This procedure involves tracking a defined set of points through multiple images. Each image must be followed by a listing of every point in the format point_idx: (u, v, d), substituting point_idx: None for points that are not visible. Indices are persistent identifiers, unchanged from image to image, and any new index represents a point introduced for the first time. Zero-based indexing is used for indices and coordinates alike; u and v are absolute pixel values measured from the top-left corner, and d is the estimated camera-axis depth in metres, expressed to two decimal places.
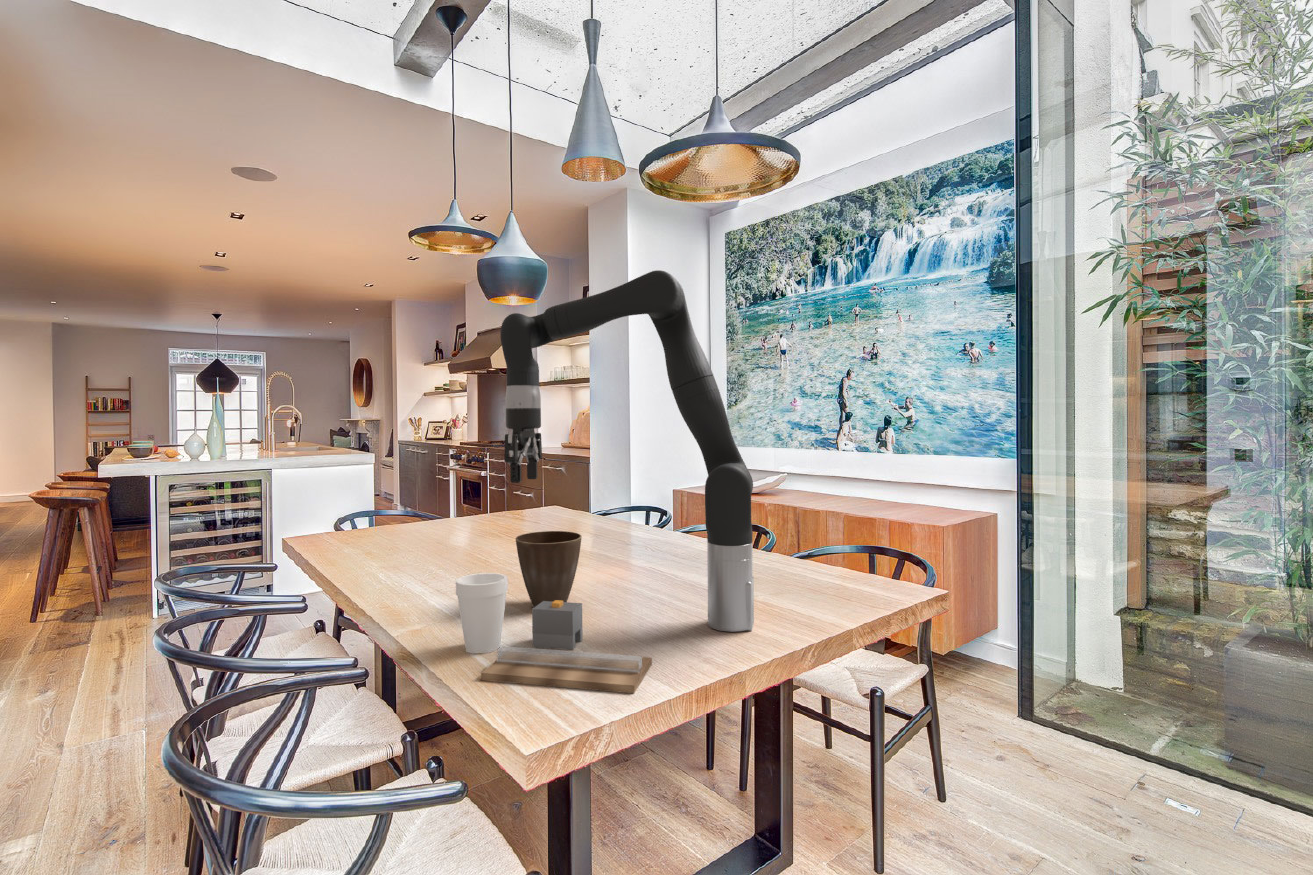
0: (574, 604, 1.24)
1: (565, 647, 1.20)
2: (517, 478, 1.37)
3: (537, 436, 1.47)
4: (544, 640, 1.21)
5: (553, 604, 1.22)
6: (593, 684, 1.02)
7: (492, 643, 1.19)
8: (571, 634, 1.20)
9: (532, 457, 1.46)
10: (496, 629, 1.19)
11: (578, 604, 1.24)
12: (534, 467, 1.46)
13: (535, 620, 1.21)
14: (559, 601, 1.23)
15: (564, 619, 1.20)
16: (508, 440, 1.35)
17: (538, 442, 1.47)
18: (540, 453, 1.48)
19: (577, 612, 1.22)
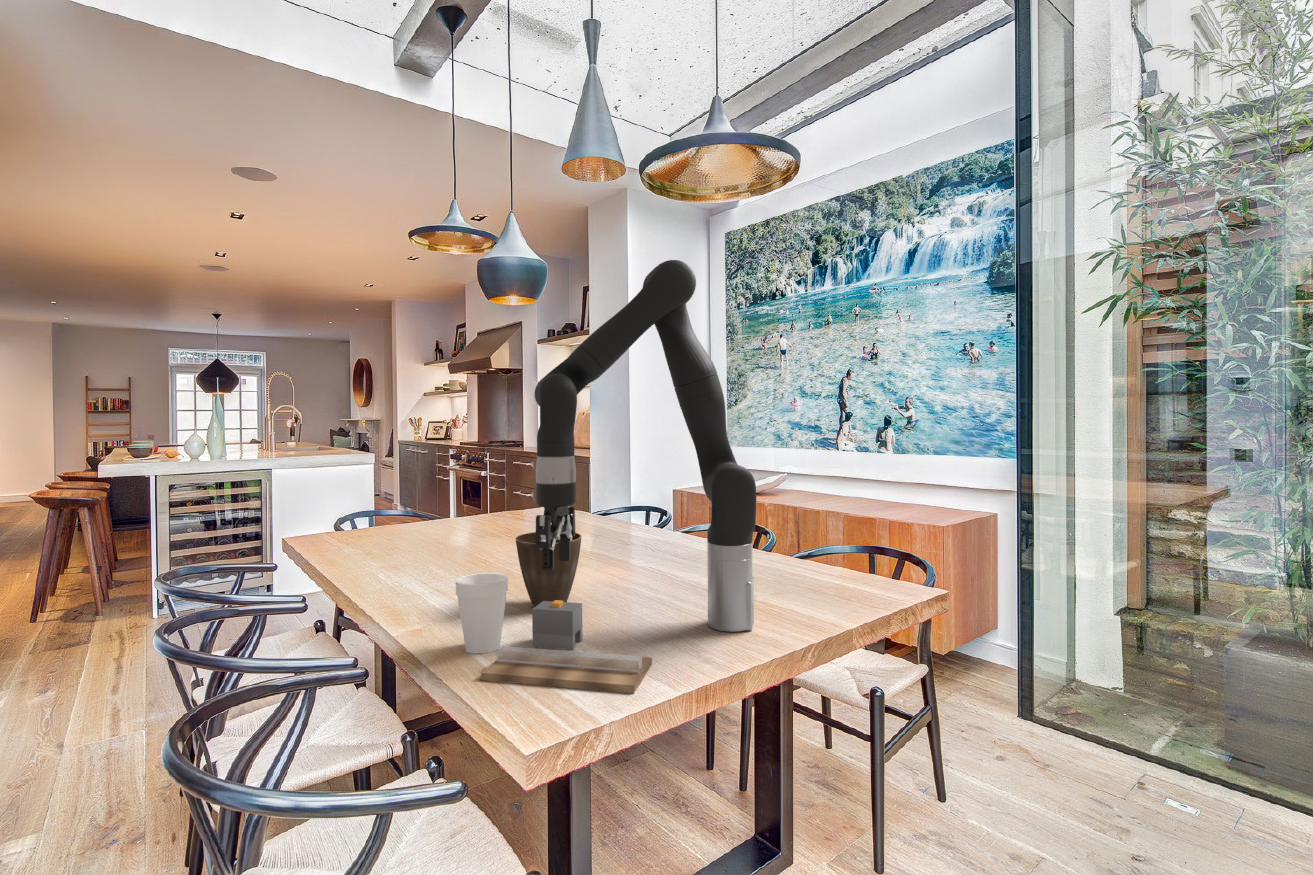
0: (574, 604, 1.24)
1: (565, 647, 1.20)
2: (549, 566, 1.18)
3: (570, 510, 1.28)
4: (544, 640, 1.21)
5: (553, 604, 1.22)
6: (593, 684, 1.02)
7: (492, 643, 1.19)
8: (571, 634, 1.20)
9: (565, 535, 1.27)
10: (496, 629, 1.19)
11: (578, 604, 1.24)
12: (567, 547, 1.27)
13: (535, 620, 1.21)
14: (559, 601, 1.23)
15: (564, 619, 1.20)
16: (540, 522, 1.16)
17: (571, 517, 1.28)
18: (573, 530, 1.29)
19: (577, 612, 1.22)
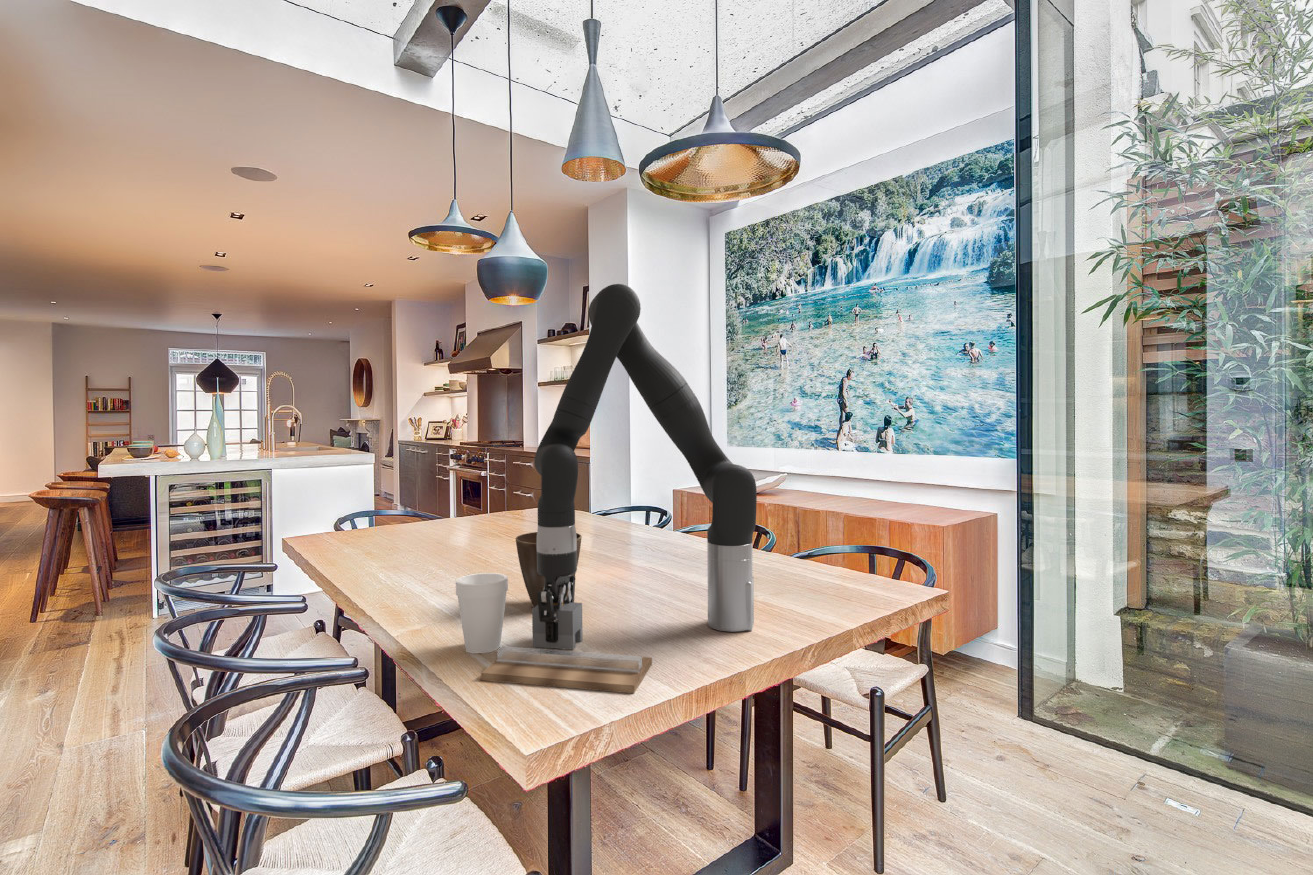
0: (574, 604, 1.24)
1: (565, 647, 1.20)
2: (553, 638, 1.19)
3: (571, 579, 1.28)
4: (544, 640, 1.21)
5: (553, 604, 1.22)
6: (593, 684, 1.02)
7: (492, 643, 1.19)
8: (571, 634, 1.20)
9: None
10: (496, 629, 1.19)
11: (578, 604, 1.24)
12: None
13: (535, 620, 1.21)
14: None
15: (564, 619, 1.20)
16: (542, 599, 1.17)
17: (571, 586, 1.28)
18: (572, 600, 1.28)
19: (577, 612, 1.22)
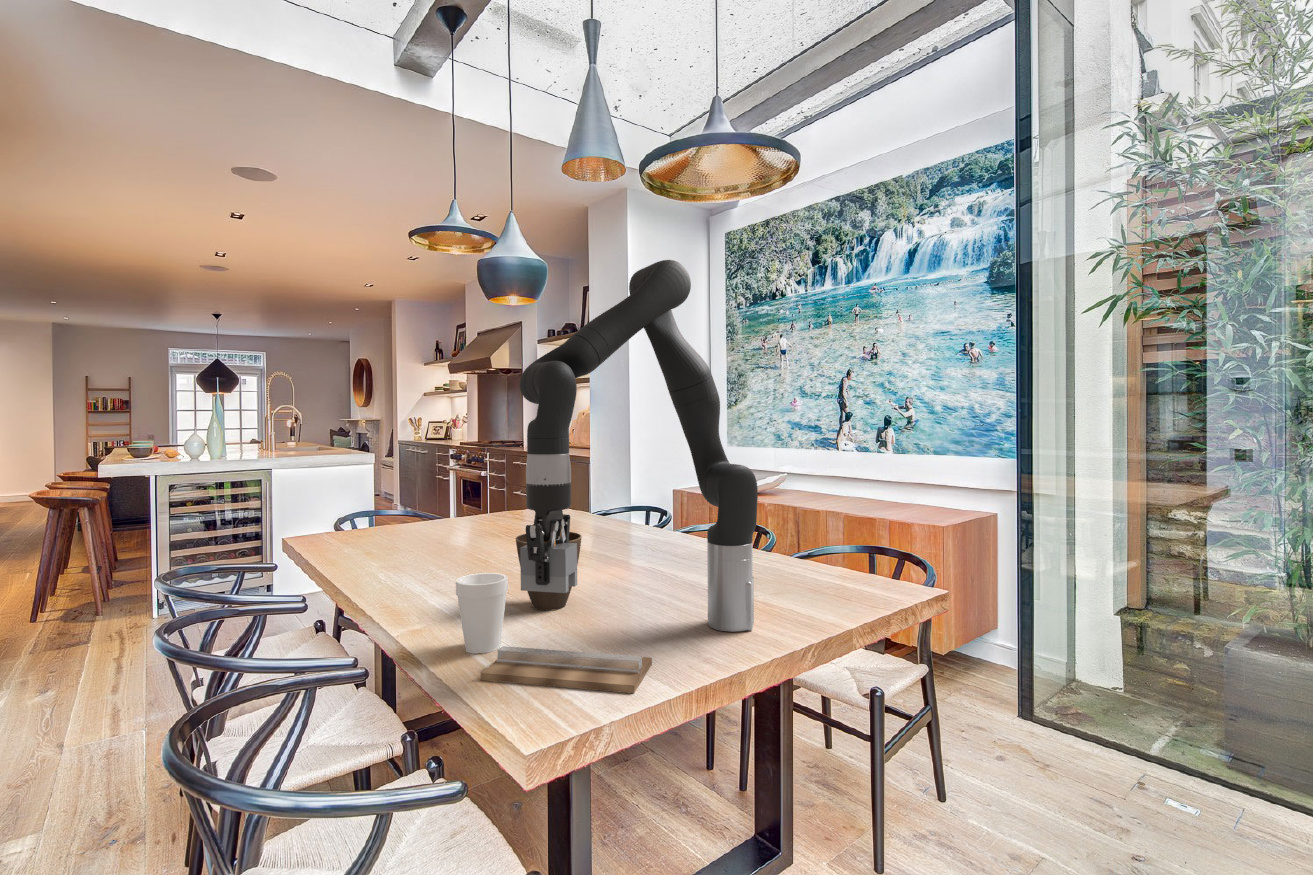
0: (568, 544, 1.10)
1: (557, 590, 1.06)
2: (544, 579, 1.06)
3: (565, 518, 1.15)
4: (534, 583, 1.07)
5: None
6: (593, 684, 1.02)
7: (492, 643, 1.19)
8: (564, 575, 1.06)
9: None
10: (496, 629, 1.19)
11: (572, 544, 1.10)
12: None
13: (523, 560, 1.08)
14: None
15: (556, 559, 1.06)
16: (531, 534, 1.03)
17: (566, 526, 1.14)
18: (566, 541, 1.14)
19: (571, 552, 1.09)
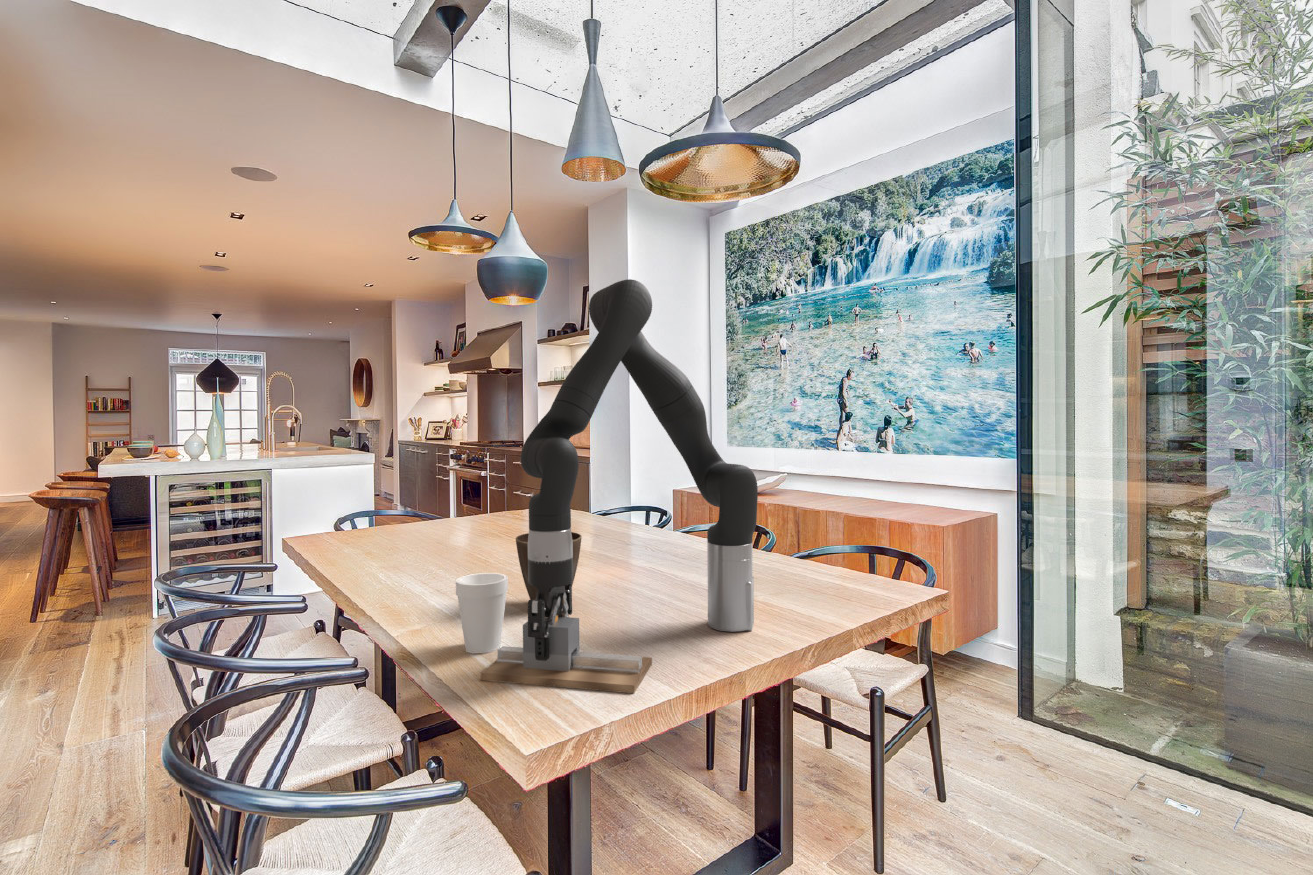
0: (570, 619, 1.10)
1: (560, 668, 1.07)
2: (544, 655, 1.05)
3: (567, 586, 1.15)
4: (536, 660, 1.07)
5: None
6: (593, 684, 1.02)
7: (492, 643, 1.19)
8: (566, 654, 1.06)
9: (560, 615, 1.14)
10: (496, 629, 1.19)
11: (575, 619, 1.10)
12: None
13: (526, 638, 1.08)
14: None
15: (558, 637, 1.06)
16: (532, 609, 1.03)
17: (568, 594, 1.15)
18: (570, 608, 1.15)
19: (574, 629, 1.09)
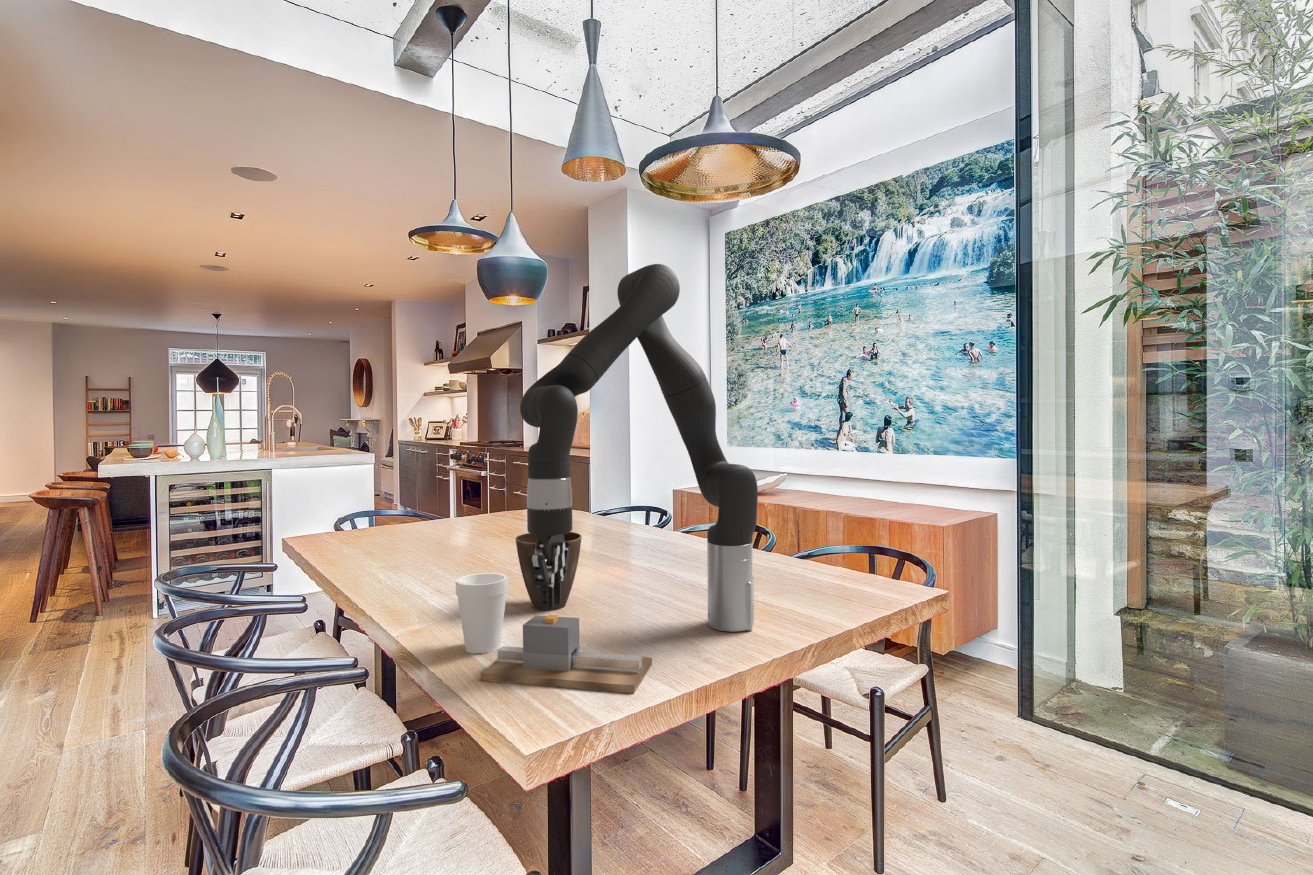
0: (570, 619, 1.10)
1: (560, 668, 1.07)
2: (549, 604, 1.07)
3: (566, 544, 1.14)
4: (536, 660, 1.07)
5: (546, 619, 1.09)
6: (593, 684, 1.02)
7: (492, 643, 1.19)
8: (566, 654, 1.06)
9: (555, 574, 1.11)
10: (496, 629, 1.19)
11: (575, 619, 1.10)
12: (557, 588, 1.11)
13: (526, 638, 1.08)
14: (553, 616, 1.10)
15: (558, 637, 1.06)
16: (533, 564, 1.03)
17: (565, 552, 1.14)
18: (565, 568, 1.13)
19: (574, 629, 1.09)
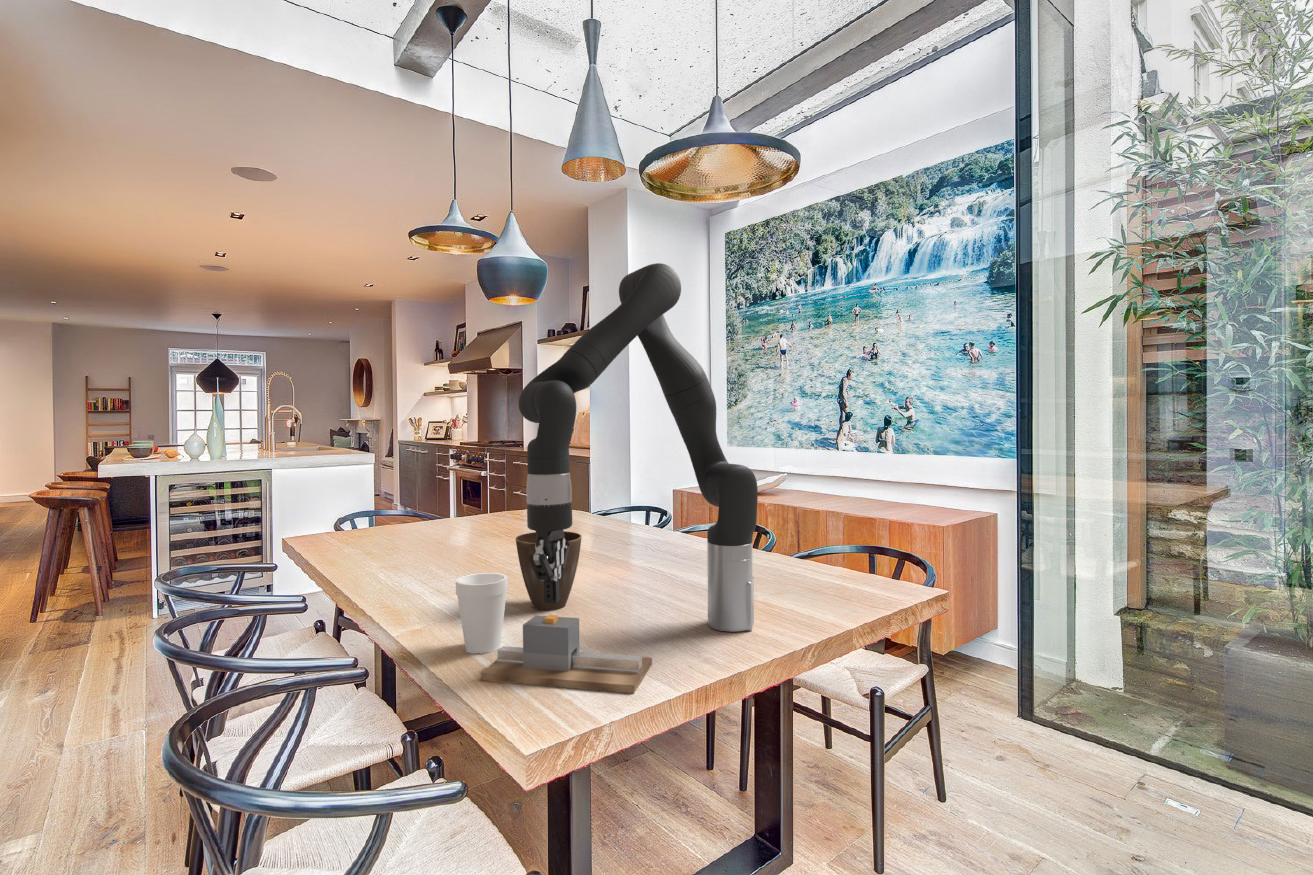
0: (570, 619, 1.10)
1: (560, 668, 1.07)
2: (553, 598, 1.08)
3: (565, 543, 1.14)
4: (536, 660, 1.07)
5: (546, 619, 1.09)
6: (593, 684, 1.02)
7: (492, 643, 1.19)
8: (566, 654, 1.06)
9: None
10: (496, 629, 1.19)
11: (575, 619, 1.10)
12: None
13: (526, 638, 1.08)
14: (553, 616, 1.10)
15: (558, 637, 1.06)
16: (535, 563, 1.04)
17: (564, 550, 1.13)
18: (562, 565, 1.11)
19: (574, 629, 1.09)
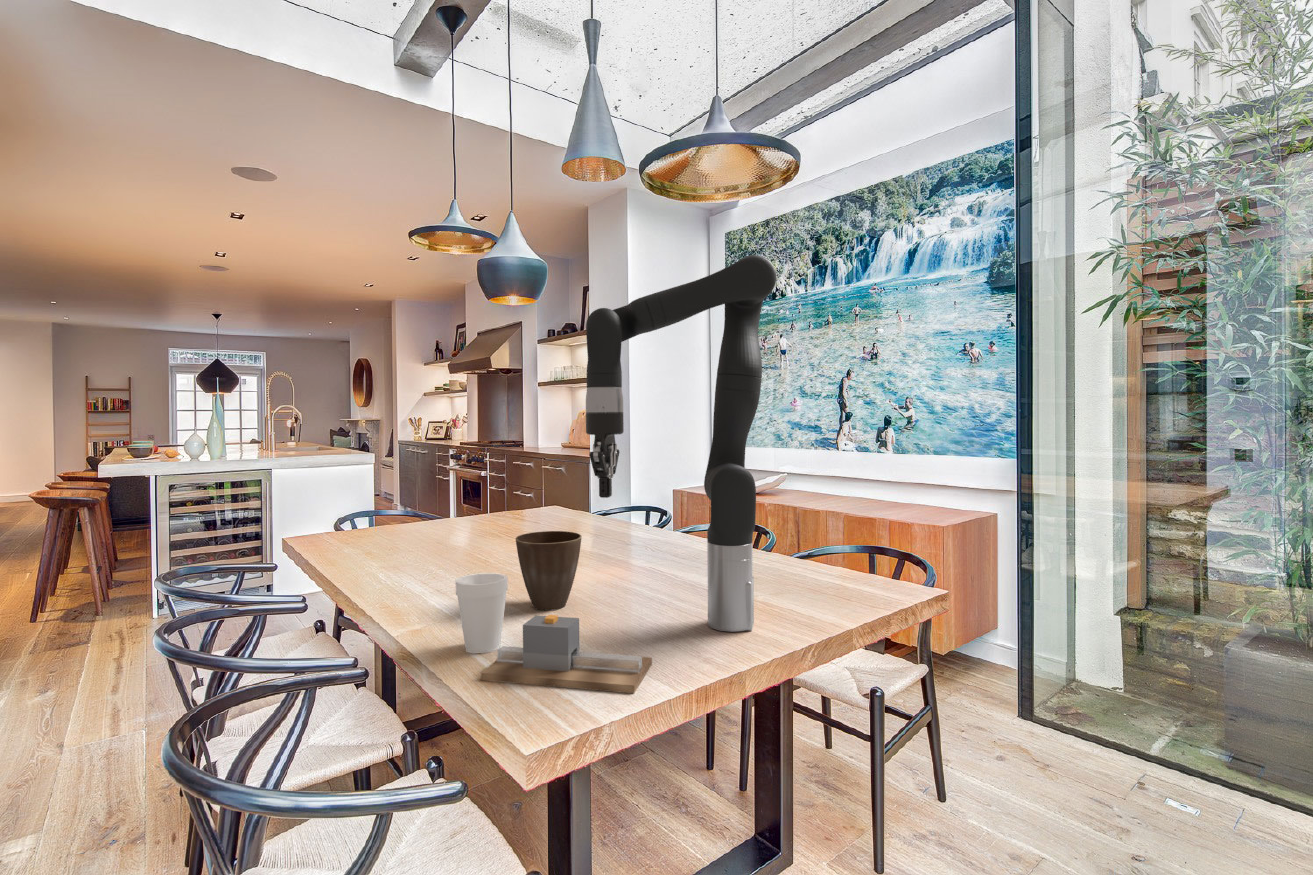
0: (570, 619, 1.10)
1: (560, 668, 1.07)
2: (607, 493, 1.29)
3: None
4: (536, 660, 1.07)
5: (546, 619, 1.09)
6: (593, 684, 1.02)
7: (492, 643, 1.19)
8: (566, 654, 1.06)
9: None
10: (496, 629, 1.19)
11: (575, 619, 1.10)
12: None
13: (526, 638, 1.08)
14: (553, 616, 1.10)
15: (558, 637, 1.06)
16: (594, 459, 1.24)
17: (615, 456, 1.33)
18: (614, 467, 1.32)
19: (574, 629, 1.09)
